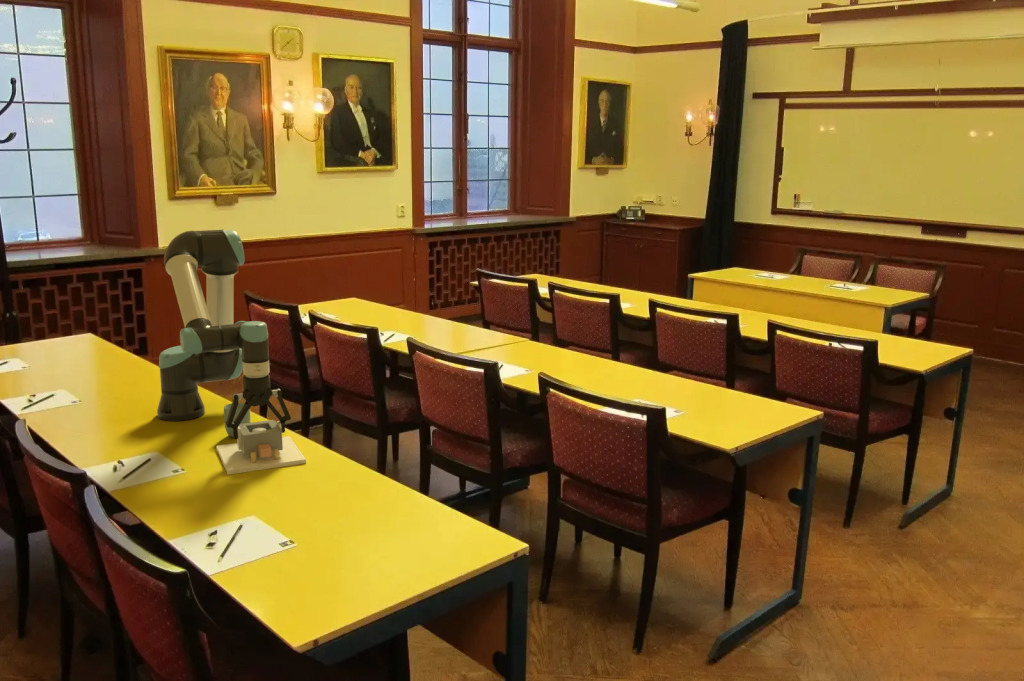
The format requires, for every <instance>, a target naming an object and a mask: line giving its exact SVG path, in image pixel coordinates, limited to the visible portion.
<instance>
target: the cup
mask: <svg viewBox="0 0 1024 681" xmlns="http://www.w3.org/2000/svg"><path fill="white" fill-rule="evenodd" d="M244 403H245V402H238V407H237V410H236V413H235V416H234V419H233V422H234V421H235V419H236V417H237V416H238V414H239V412H240V411H241V409H242V407H243V406H244ZM231 405H232V402H231V403H228V404H225V405H224V407H223V420H224V428H225V432H226V434H227V435H228V436H229V437H230V438H234V437H233V428H228V427H227V425H226V421H227V418H228V415H229V411H230V408H231ZM251 419H252V418H251V408H250V409H249V410H248V412H247V413H246V415H245V417H244V418H243V420H242V421H241V423H240V424H244V423H252V422H251ZM233 422H232V423H233Z"/></svg>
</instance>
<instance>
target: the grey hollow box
mask: <svg viewBox="0 0 1024 681" xmlns="http://www.w3.org/2000/svg"><path fill="white" fill-rule="evenodd" d="M239 427H240V429H241V446H242V452H243V454H244V455H250V454H251V452H256V454H257V453H258V454H259V455H260V457H261V458H263V457H270V456H272V454H271V451H273V449H278V450H283V445H282V437H283V433H282V430H281V429H280V427H279V426H278V425H277V421H276V420H275V419H270V420H263V421H262V420H261V421H254V422H251V423H244V424H240V425H239ZM256 428H265V429H266V430H263V431H255V432H252V430H253V429H256Z"/></svg>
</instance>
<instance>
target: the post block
mask: <svg viewBox="0 0 1024 681" xmlns="http://www.w3.org/2000/svg"><path fill="white" fill-rule="evenodd" d="M263 430H266V429H265V428H256V429H253V430H252V432H255V431H263ZM282 445H283V450H278V449H273V451H271V454H272V456H270V457H263V458H261V457H260V455H259V454H258V453H257V454H256V452H251V454H250V455H244V454H243V452H242V450H239V449H238V446H237V442H235V443H234V442H233V443H228V444H219V445H216V452H217V453H218V455H219V458H220V461H221V462H222V465H223V467H224V469H225V472H226V474H227V475H229V476H230V475H235V474H241V473H248V472H255V471H261V470H267V469H276V468H281V467H289V466H296V465H301V464H302V465H303V464H307V459H306V457H305V456H304V454H303V453H302V452H301V450H300V449H299V448H298V446H297V445H296V443H295V442H294V440H293V439H292V438H291V436H290V435H289V436H288V435H287V436H282Z"/></svg>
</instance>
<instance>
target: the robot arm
mask: <svg viewBox="0 0 1024 681" xmlns="http://www.w3.org/2000/svg"><path fill="white" fill-rule="evenodd" d="M244 250H245V249H244V245H243V243H242V239H241V237H240V235H239V233H238V232H237V231H236V230H232V229H211V230H186V231H184V232H181V233H179V234H178V235H175V237H174V238H172V240H171V241H170V242H169V244H168V245H167V247H166V249H165V253H164V257H163V264H164V269H165V272H166V273H167V274H168V275H169V276H170V278H171V281H172V285H173V288H174V292H175V296H176V300H177V303H178V307H179V310H180V315H181V318H182V322H183V326H184V328H181V329H180V330H179V342H180V345H176V346H172V347H169V348H167V349H165V350H163V351H161V352H160V354H159V355H158V357H159V358H158V368H159V375H160V376H159V377H160V389H161V390H160V391H161V395H160V399H159V402H158V406H157V410H156V411H157V412H156V414H157V418H158V419H159V420H163V421H169V422H178V421H188V420H194V419H197V418H199V417H201V416H204V415H205V413H206V410H205V404H204V402H203V400H202V397H201V395H200V392H199V387H198V386H199V384H202V383H210V382H219V381H220V382H221V381H229V380H234V379H237V378H238V379H239V377H240V376H241V374H243V377H242V380H243V382H242V383H243V390H242V392H241V393H236V392H233V393H232V402H231V403H232V405H231V408H230V411H229V415H228V418H227V421H226V425H227V427H228V428H233V437H234V439H235V440H236V443H237V446H238V449H239V450H242V446H241V429H240V427H239V425H240V423H241V421H242V420H243V418H244V417H245V415H246V413H247V412H248V410H249V409H250V410H251V407H253V408H254V407H258V406H265V405H266V406H267V407H268V408H269V410H271V412H272V413H273V414H274V416H275V417H276V418H277V419H278V420H277V421H276V423H277V425H278V426H279V427H280V429H281V430H282V434H285V433H286V422H287V421H291V419H292V417H291V415H290V412H289V410H288V408H287V406H286V403H285V401H284V399H283V391H282V390H281V389H280V388H276V389H272V387H271V375H270V374H269V373H270V354H269V353H270V350H269V330H268V325H267V323H266V322H264V321H260V320H258V321H257V320H252V321H245V320H239V321H237V322H235V323H234V320H235V319H234V318H235V317H234V310H235V309H234V305H235V304H234V302H235V300H234V294H235V293H234V290H235V289H234V288H235V284H234V282H235V281H234V280H235V279H234V278H235V275H237V274H238V273H239V266H243V265H244V264H245V252H244ZM198 268H200V269H201V272H202V273H203V274H204V275H206V281H205V282H206V283H205V284H206V287H205V288H206V300H205V296H204V292H203V289H202V285H201V282H200V279H199V275H198V272H197V271H198ZM272 396H274V397H275V398H276V399H277V402H278V403H279V406H280V408H281V410H282V413H283V416H282V415H281V413H280V412H279V411H278V410H277V408H276V407H275V406H274V405H273V404H272V402H271V401H270V398H271V397H272ZM242 398H243V400H245V402H243V403H244V406H243V407H242V409H241V411H240V412H239V414H238V416H237V417H236V419H235V421H234V422H233V419H234V416H235V413H236V410H237V407H238V403H239V402H241V401H242ZM232 422H233V423H232ZM233 437H232V438H233ZM234 439H233V440H234Z"/></svg>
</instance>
